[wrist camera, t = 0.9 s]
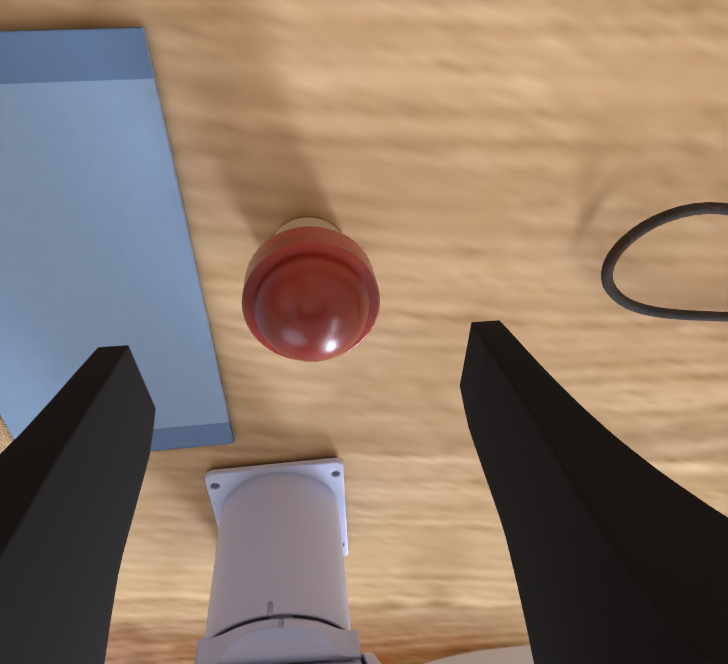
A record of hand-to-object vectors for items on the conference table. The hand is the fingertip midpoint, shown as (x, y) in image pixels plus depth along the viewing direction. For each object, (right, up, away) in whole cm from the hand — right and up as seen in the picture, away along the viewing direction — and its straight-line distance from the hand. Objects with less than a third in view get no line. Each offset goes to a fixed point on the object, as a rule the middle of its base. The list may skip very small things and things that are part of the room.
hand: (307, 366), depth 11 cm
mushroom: (-1, +4, +12) cm, 13 cm away
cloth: (-12, +3, +12) cm, 17 cm away
